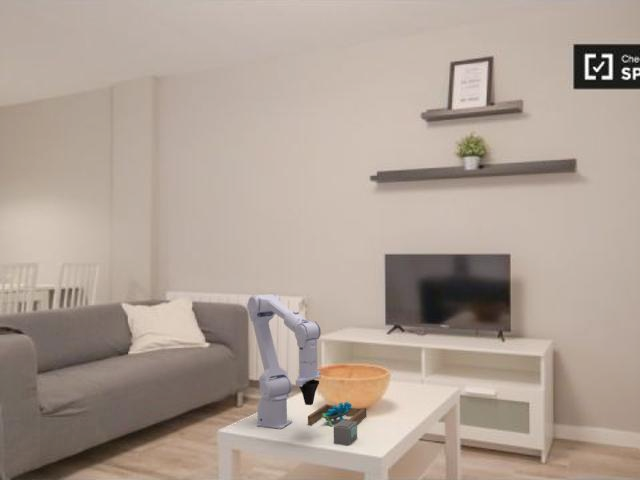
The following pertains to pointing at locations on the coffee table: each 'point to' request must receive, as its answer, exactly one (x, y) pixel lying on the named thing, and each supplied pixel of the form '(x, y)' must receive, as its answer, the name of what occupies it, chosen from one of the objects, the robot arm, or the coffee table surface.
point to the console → (345, 432)
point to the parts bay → (354, 411)
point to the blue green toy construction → (337, 412)
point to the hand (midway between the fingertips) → (309, 404)
